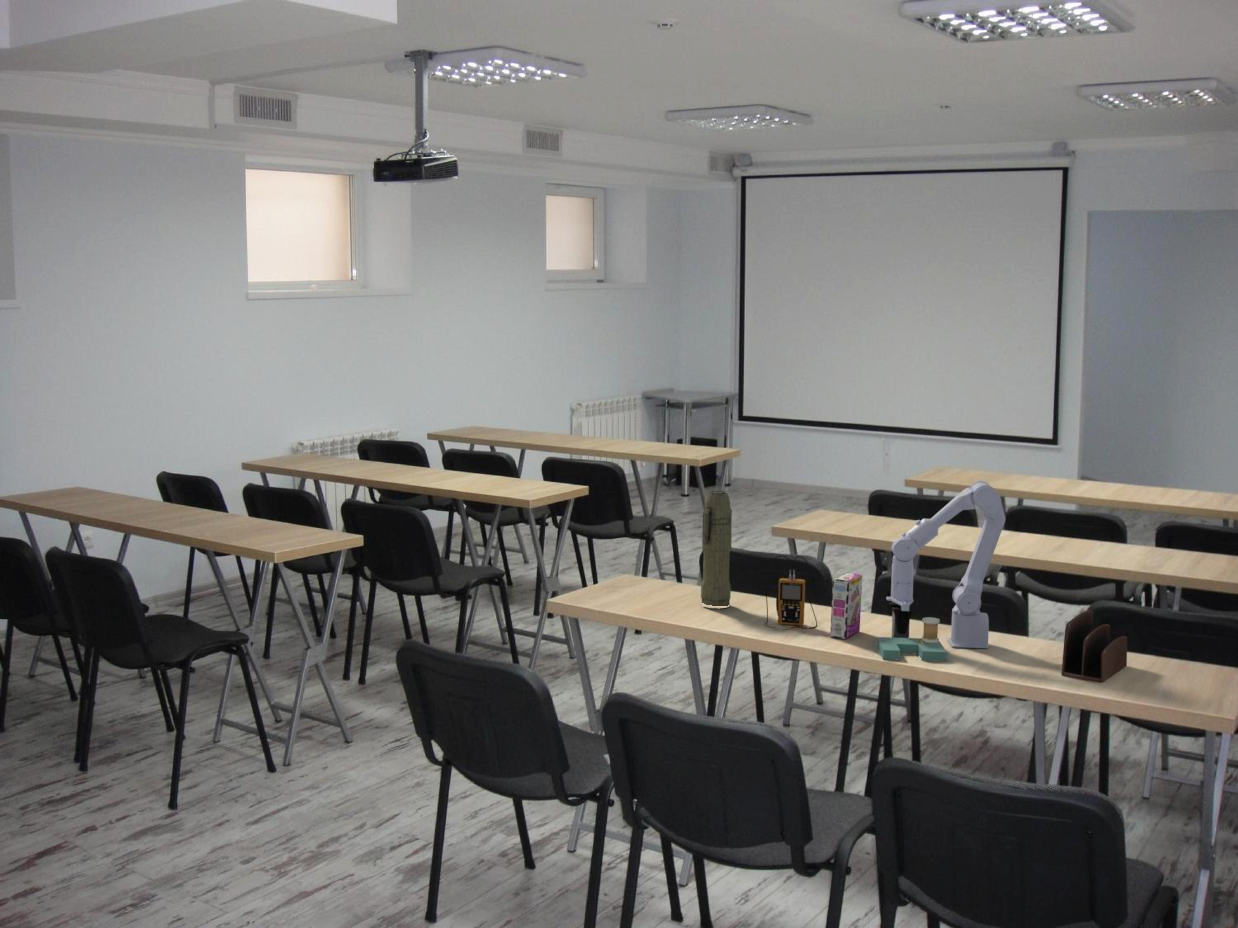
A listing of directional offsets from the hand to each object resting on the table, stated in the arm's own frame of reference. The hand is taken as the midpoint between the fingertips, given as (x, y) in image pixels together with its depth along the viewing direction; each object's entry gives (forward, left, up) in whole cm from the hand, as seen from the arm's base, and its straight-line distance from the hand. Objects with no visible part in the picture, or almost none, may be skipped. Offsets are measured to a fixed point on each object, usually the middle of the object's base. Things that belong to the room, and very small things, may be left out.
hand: (900, 631), depth 329 cm
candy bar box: (+14, -6, -3) cm, 16 cm away
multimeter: (+29, -12, -3) cm, 32 cm away
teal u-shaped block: (-1, +12, -3) cm, 12 cm away
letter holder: (-45, +23, -3) cm, 50 cm away
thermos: (+50, -36, -3) cm, 62 cm away
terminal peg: (0, 0, -3) cm, 3 cm away
